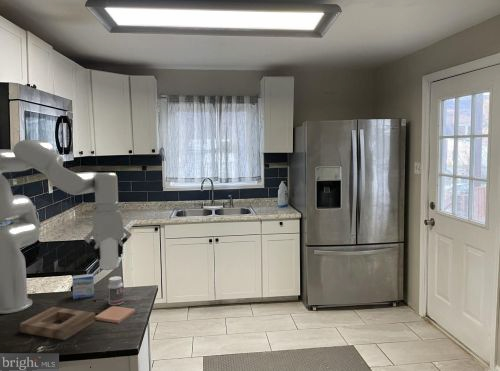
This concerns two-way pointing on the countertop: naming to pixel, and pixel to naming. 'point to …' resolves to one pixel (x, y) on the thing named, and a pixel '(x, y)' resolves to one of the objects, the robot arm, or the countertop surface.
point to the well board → (44, 325)
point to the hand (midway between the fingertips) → (109, 257)
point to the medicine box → (83, 286)
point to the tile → (115, 314)
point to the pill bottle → (115, 291)
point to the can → (109, 254)
